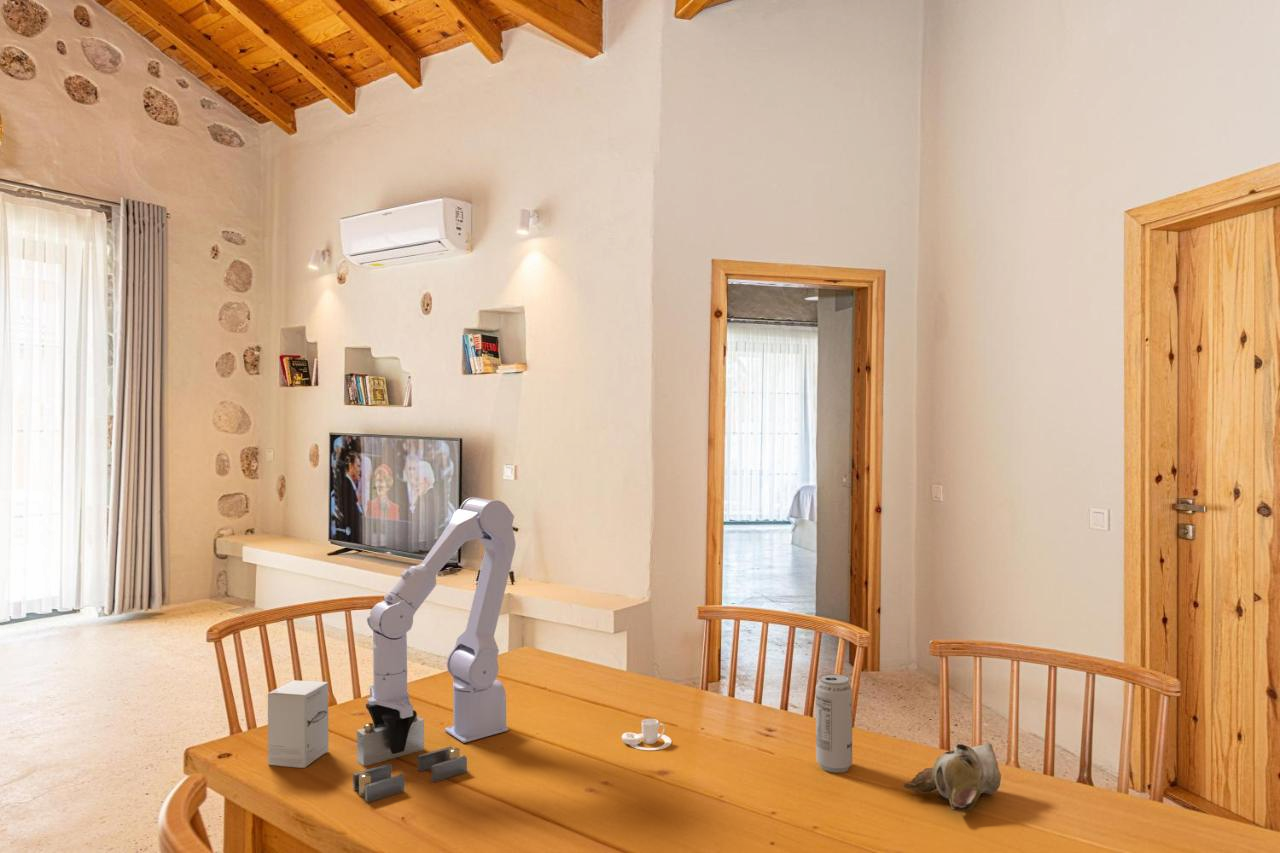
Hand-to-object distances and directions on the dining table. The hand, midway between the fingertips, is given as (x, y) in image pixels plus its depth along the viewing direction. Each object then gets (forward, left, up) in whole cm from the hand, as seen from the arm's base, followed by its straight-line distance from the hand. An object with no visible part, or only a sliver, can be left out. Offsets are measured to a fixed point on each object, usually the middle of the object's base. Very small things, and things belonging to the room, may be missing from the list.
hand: (391, 746), depth 145 cm
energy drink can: (-56, +53, -2) cm, 77 cm away
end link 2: (-4, +12, -1) cm, 13 cm away
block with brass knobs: (0, 0, -2) cm, 2 cm away
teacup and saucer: (-39, +22, -2) cm, 45 cm away
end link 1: (+7, +12, -1) cm, 14 cm away
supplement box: (+13, -9, -2) cm, 16 cm away
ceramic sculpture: (-62, +73, -2) cm, 95 cm away
